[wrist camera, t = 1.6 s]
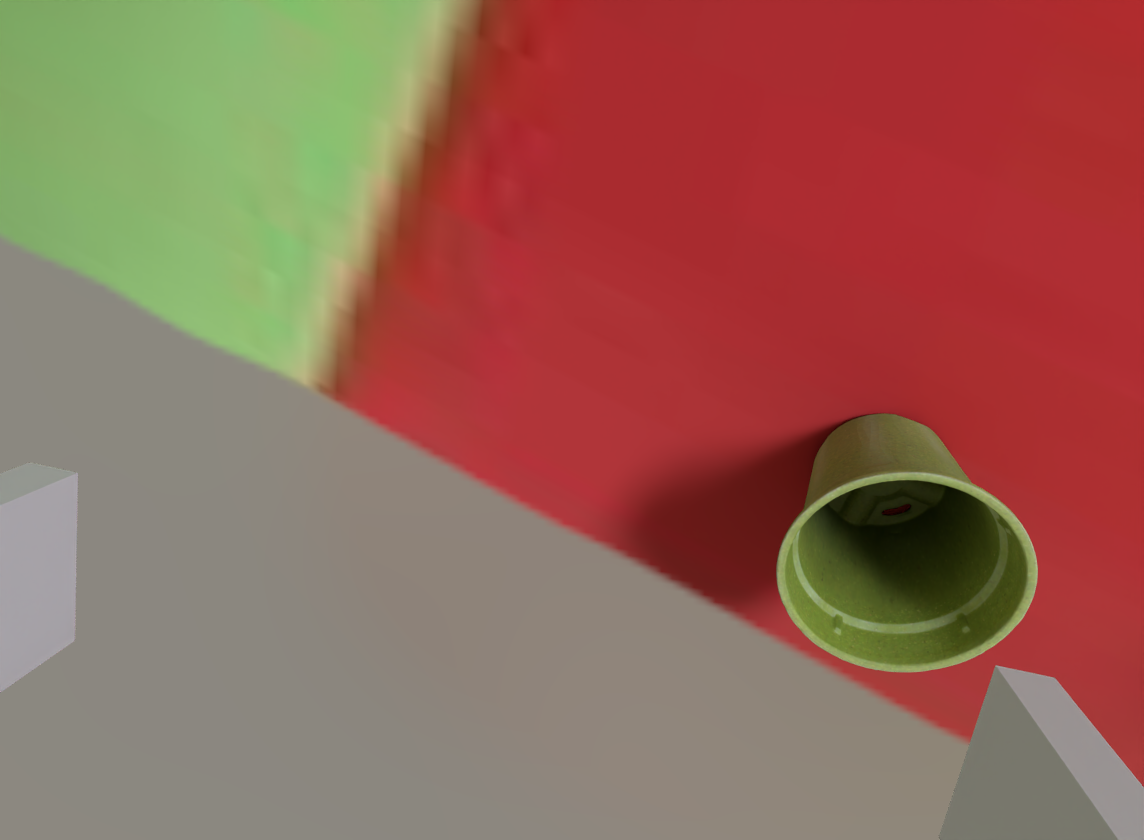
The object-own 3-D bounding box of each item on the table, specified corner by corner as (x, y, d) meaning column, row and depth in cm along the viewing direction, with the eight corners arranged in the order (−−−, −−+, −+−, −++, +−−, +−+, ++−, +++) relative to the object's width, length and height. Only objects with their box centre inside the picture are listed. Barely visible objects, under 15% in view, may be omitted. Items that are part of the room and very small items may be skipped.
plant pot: (1018, 517, 39) (1072, 639, 32) (824, 575, 43) (832, 696, 36) (945, 347, 37) (986, 436, 29) (746, 424, 40) (736, 521, 33)
